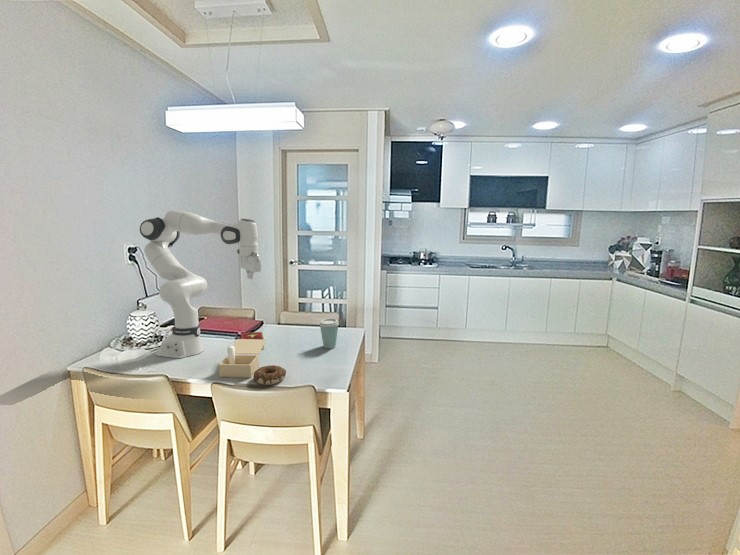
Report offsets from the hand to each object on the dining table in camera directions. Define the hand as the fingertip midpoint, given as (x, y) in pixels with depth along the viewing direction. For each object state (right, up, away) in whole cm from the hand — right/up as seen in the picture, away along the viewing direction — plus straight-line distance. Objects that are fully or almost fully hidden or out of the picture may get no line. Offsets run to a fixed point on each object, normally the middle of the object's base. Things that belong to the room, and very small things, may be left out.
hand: (250, 278), depth 199 cm
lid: (+1, -33, -8) cm, 34 cm away
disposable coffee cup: (+38, -38, +16) cm, 56 cm away
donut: (+17, -45, -26) cm, 54 cm away
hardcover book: (-4, -37, +18) cm, 41 cm away
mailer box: (+1, -43, -19) cm, 47 cm away
